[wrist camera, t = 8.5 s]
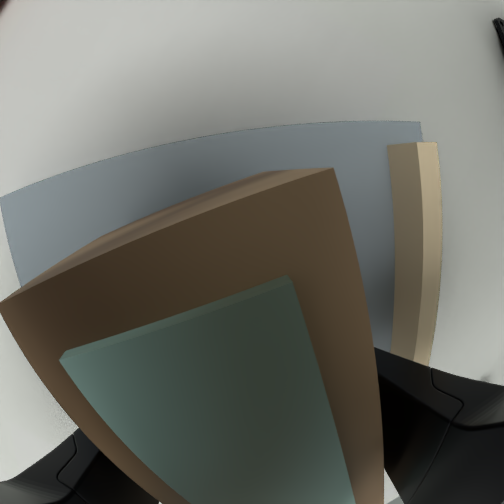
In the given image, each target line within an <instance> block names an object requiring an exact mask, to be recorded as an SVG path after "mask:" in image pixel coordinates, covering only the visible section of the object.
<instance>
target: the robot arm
mask: <svg viewBox="0 0 504 504" xmlns="http://www.w3.org/2000/svg"><path fill="white" fill-rule="evenodd" d="M494 22H495V25H496V27H497V30H498V32H499V35H500V38H501V41H502V43H503V46H504V20H502V19H500V18H496V19H494ZM374 352H375V359H376V367H377V375H378V384H379V394H380V404H381V417H382V432H383V453H384V469H385V470H386V472H387V474H388V476H389V478H390V479H391V481H392V483H393V485H394V486H395V488H396V490H397V492H398V494H399V495H400V497H401V499H402V501H403V502H404V504H504V386H502V385H497V384H492V383H487V382H482V381H477V380H473V379H468V378H464V377H460V376H456V375H453V374H450V373H447V372H443V371H440V370H437V369H435V368H430V367H429V366H426V365H423V364H420V363H417V362H414V361H412V360H409V359H406V358H403V357H400V356H398V355H395V354H392V353H390V352H387V351H384V350H381V349H379V348H376V347H374ZM0 504H159V501H158V500H157V499H155V498H154V497H153V496H152V495H150V494H149V493H148V492H146V491H145V490H144V489H143V488H141V487H140V486H139V485H138V484H137V483H135V482H134V481H133V480H132V479H131V478H130V477H128V476H127V475H126V474H125V473H124V472H123V471H122V470H121V469H119V468H118V467H117V466H116V465H115V464H114V463H113V462H112V461H111V460H110V459H109V458H108V457H107V456H106V455H105V454H104V453H103V452H102V451H101V450H100V449H99V448H98V447H97V446H96V445H95V444H94V443H93V442H92V441H91V440H90V439H89V438H88V437H87V436H86V435H85V434H84V433H83V431H82V430H81V429H80V428H78V429H77V430H76V431H75V432H74V433H73V434H71V435H70V436H69V437H68V438H67V439H66V440H65V441H63V442H62V443H61V444H60V445H59V446H57V447H56V448H55V449H54V450H52V451H51V452H50V453H48V454H47V455H46V456H44V457H43V458H42V459H40V460H39V461H37V462H36V463H35V464H33V465H32V466H30V467H29V468H27V469H26V470H25V471H23V472H22V473H20V474H19V475H17V476H16V477H14V478H12V479H10V480H7V481H2V482H0Z"/></svg>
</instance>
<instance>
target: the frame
mask: <svg viewBox="0 0 504 504" xmlns="http://www.w3.org/2000/svg"><path fill="white" fill-rule="evenodd" d="M0 313H1V315H2V317H3V319H4V321H5V323H6V324H7V326H8V328H9V330H10V332H11V333H12V335H13V337H14V339H15V340H16V342H17V344H18V345H19V347H20V349H21V350H22V352H23V354H24V355H25V357H26V358H27V360H28V361H29V363H30V364H31V366H32V367H33V369H34V370H35V372H36V373H37V375H38V376H39V378H40V379H41V381H42V382H43V383H44V385H45V386H46V387H47V389H48V390H49V391H50V393H51V394H52V395H53V397H54V398H55V399H56V401H57V402H58V403H59V404H60V406H61V407H62V408H63V409H64V411H65V412H66V413H67V414H68V415H69V417H70V418H71V419H72V420H73V421H74V422H75V424H76V425H77V426H78V427H79V428H80V429H81V430H82V431H83V433H84V434H85V435H86V436H87V437H88V438H89V439H90V440H91V441H92V442H93V443H94V444H95V445H96V446H97V447H98V448H99V449H100V450H101V451H102V452H103V453H104V454H105V455H106V456H107V457H108V458H109V459H110V460H111V461H112V462H113V463H114V464H115V465H116V466H117V467H118V468H119V469H121V470H122V471H123V472H124V473H125V474H126V475H127V476H128V477H130V478H131V479H132V480H133V481H134V482H135V483H137V484H138V485H139V486H140V487H141V488H143V489H144V490H145V491H146V492H148V493H149V494H150V495H152V496H153V497H154V498H155V499H157V500H158V501H159V502H161V503H162V504H384V453H383V432H382V417H381V404H380V394H379V384H378V375H377V367H376V359H375V352H374V345H373V338H372V331H371V325H370V319H369V313H368V308H367V302H366V297H365V292H364V286H363V281H362V277H361V272H360V267H359V262H358V258H357V254H356V249H355V245H354V241H353V237H352V232H351V228H350V224H349V221H348V217H347V213H346V209H345V205H344V202H343V198H342V195H341V191H340V187H339V184H338V181H337V177H336V174H335V171H334V167H332V168H310V169H293V170H278V171H265V172H261V173H258V174H255V175H252V176H249V177H246V178H244V179H241V180H238V181H235V182H232V183H230V184H227V185H224V186H221V187H219V188H216V189H213V190H211V191H208V192H205V193H203V194H200V195H197V196H195V197H192V198H190V199H187V200H185V201H182V202H180V203H177V204H175V205H172V206H170V207H167V208H165V209H162V210H160V211H157V212H155V213H153V214H150V215H148V216H145V217H143V218H141V219H138V220H136V221H134V222H132V223H129V224H127V225H125V226H122V227H120V228H118V229H116V230H114V231H111V232H109V233H107V234H105V235H103V236H101V237H99V238H97V239H95V240H94V241H92V242H90V243H89V244H87V245H85V246H84V247H82V248H81V249H79V250H77V251H76V252H74V253H72V254H71V255H69V256H68V257H66V258H64V259H63V260H61V261H60V262H58V263H57V264H55V265H54V266H52V267H50V268H49V269H47V270H46V271H44V272H43V273H41V274H40V275H38V276H37V277H35V278H34V279H32V280H31V281H30V282H28V283H27V284H25V285H24V286H22V287H21V288H19V289H18V290H17V291H15V292H14V293H12V294H11V295H10V296H8V297H7V298H6V299H4V300H3V301H1V302H0Z"/></svg>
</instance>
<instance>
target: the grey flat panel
mask: <svg viewBox="0 0 504 504" xmlns="http://www.w3.org/2000/svg"><path fill="white" fill-rule="evenodd" d="M332 167H334V171H335V174H336V177H337V181H338V184H339V187H340V191H341V195H342V198H343V202H344V205H345V209H346V213H347V217H348V221H349V224H350V228H351V232H352V237H353V241H354V245H355V249H356V254H357V258H358V262H359V267H360V272H361V277H362V281H363V286H364V292H365V297H366V302H367V308H368V313H369V319H370V325H371V331H372V338H373V345H374V347H376V348H379V349H381V350H384V351H387V352H390V353H392V354H395V355H398V356H400V357H403V358H406V359H409V360H412V361H414V362H417V363H420V364H423V365H426V366H428V365H429V360H430V355H431V349H432V344H433V338H434V332H435V325H436V317H437V310H438V301H439V291H440V278H441V262H442V196H441V180H440V168H439V158H438V149H437V142H423V139H422V133H421V126H420V122H411V121H344V122H323V123H308V124H295V125H284V126H275V127H266V128H257V129H250V130H242V131H235V132H229V133H222V134H216V135H210V136H205V137H199V138H194V139H189V140H184V141H179V142H174V143H169V144H165V145H160V146H156V147H151V148H147V149H143V150H139V151H135V152H131V153H127V154H124V155H120V156H116V157H113V158H109V159H106V160H102V161H99V162H95V163H92V164H89V165H86V166H83V167H79V168H76V169H73V170H70V171H67V172H64V173H61V174H59V175H56V176H53V177H50V178H47V179H45V180H42V181H39V182H37V183H34V184H32V185H29V186H26V187H24V188H22V189H19V190H17V191H14V192H12V193H10V194H7V195H5V196H3V197H0V205H1V211H2V216H3V221H4V226H5V231H6V235H7V239H8V243H9V247H10V251H11V255H12V259H13V262H14V266H15V269H16V273H17V276H18V279H19V282H20V285H21V287H22V286H24V285H25V284H27V283H28V282H30V281H31V280H32V279H34V278H35V277H37V276H38V275H40V274H41V273H43V272H44V271H46V270H47V269H49V268H50V267H52V266H54V265H55V264H57V263H58V262H60V261H61V260H63V259H64V258H66V257H68V256H69V255H71V254H72V253H74V252H76V251H77V250H79V249H81V248H82V247H84V246H85V245H87V244H89V243H90V242H92V241H94V240H95V239H97V238H99V237H101V236H103V235H105V234H107V233H109V232H111V231H114V230H116V229H118V228H120V227H122V226H125V225H127V224H129V223H132V222H134V221H136V220H138V219H141V218H143V217H145V216H148V215H150V214H153V213H155V212H157V211H160V210H162V209H165V208H167V207H170V206H172V205H175V204H177V203H180V202H182V201H185V200H187V199H190V198H192V197H195V196H197V195H200V194H203V193H205V192H208V191H211V190H213V189H216V188H219V187H221V186H224V185H227V184H230V183H232V182H235V181H238V180H241V179H244V178H246V177H249V176H252V175H255V174H258V173H261V172H265V171H278V170H293V169H310V168H332Z"/></svg>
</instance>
